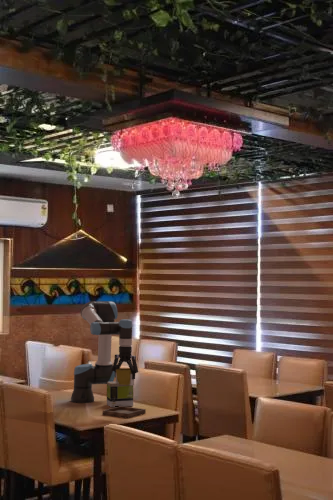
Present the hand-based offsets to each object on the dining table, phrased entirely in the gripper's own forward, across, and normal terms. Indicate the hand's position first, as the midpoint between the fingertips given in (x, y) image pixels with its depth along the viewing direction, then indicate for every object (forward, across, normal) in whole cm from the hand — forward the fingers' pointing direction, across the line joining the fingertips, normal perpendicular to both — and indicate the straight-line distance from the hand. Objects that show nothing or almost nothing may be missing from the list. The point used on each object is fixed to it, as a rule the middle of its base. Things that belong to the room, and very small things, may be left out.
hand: (124, 384), depth 392 cm
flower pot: (0, 0, 0) cm, 0 cm away
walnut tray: (+17, 0, 0) cm, 17 cm away
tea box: (+18, -19, +22) cm, 34 cm away
